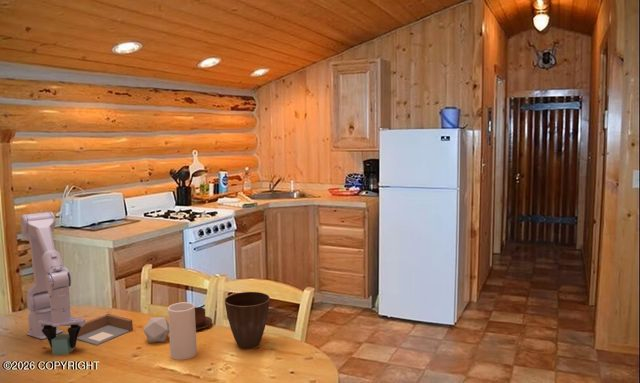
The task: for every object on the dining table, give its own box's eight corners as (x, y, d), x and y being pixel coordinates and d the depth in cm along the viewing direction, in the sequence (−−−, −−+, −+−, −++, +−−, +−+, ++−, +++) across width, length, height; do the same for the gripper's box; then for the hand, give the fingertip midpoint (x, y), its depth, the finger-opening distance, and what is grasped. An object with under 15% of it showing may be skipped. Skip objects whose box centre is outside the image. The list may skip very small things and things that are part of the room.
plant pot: (235, 334, 182) (234, 290, 180) (276, 337, 179) (275, 292, 177) (219, 352, 168) (217, 304, 166) (263, 355, 165) (261, 307, 163)
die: (156, 349, 172) (172, 323, 174) (134, 335, 173) (151, 310, 175) (163, 348, 180) (178, 323, 182) (142, 335, 181) (158, 310, 183)
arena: (72, 338, 181) (71, 327, 180) (109, 323, 194) (108, 313, 193) (96, 345, 174) (96, 334, 174) (132, 330, 187) (132, 319, 187)
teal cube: (52, 354, 168) (51, 340, 167) (60, 348, 173) (59, 333, 172) (67, 354, 168) (66, 339, 167) (75, 348, 173) (74, 333, 172)
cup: (201, 350, 169) (199, 303, 167) (187, 361, 162) (185, 312, 160) (180, 347, 172) (177, 301, 170) (165, 357, 164) (162, 309, 162)
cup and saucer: (176, 324, 193) (175, 308, 192) (208, 318, 198) (207, 303, 197) (182, 335, 182) (181, 318, 182) (215, 329, 187) (215, 313, 187)
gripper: (31, 311, 165) (35, 352, 166) (77, 311, 165) (80, 351, 166) (43, 304, 172) (46, 343, 173) (86, 303, 172) (89, 342, 173)
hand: (63, 346), depth 170 cm, fingers open, 6 cm apart
